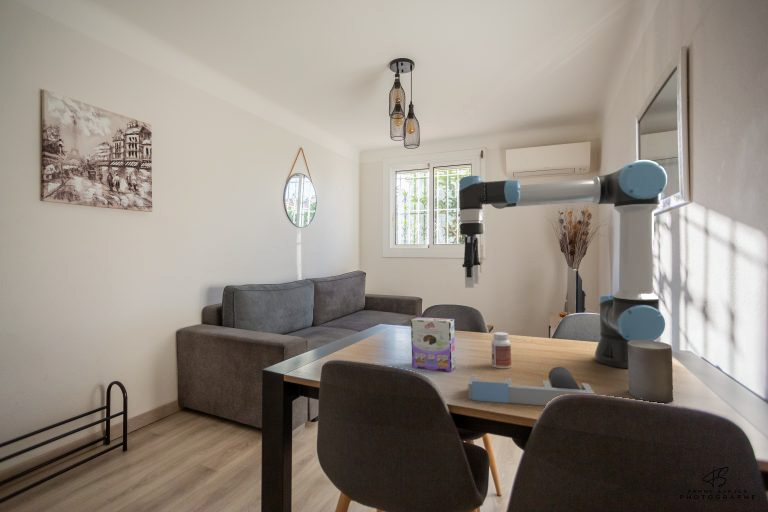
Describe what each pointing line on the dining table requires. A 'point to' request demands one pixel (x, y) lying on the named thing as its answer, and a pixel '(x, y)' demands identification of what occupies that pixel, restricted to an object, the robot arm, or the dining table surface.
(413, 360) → the candy box
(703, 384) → the dining table surface
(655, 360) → the pillar candle
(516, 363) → the dining table surface
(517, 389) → the duct comb
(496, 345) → the pill bottle
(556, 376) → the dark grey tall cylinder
